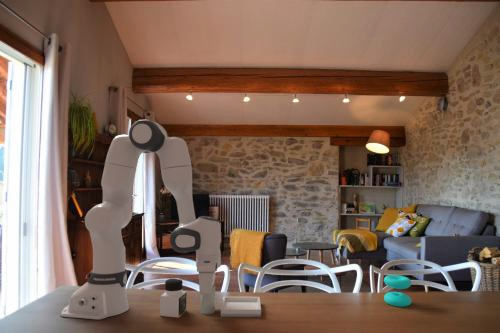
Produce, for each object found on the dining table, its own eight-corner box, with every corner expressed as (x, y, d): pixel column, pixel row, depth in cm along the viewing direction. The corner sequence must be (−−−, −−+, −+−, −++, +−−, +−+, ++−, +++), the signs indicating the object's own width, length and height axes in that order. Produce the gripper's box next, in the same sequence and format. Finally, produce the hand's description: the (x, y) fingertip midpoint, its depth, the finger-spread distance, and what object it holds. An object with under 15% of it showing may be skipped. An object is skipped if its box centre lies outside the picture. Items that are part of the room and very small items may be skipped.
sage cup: (199, 314, 132) (200, 288, 132) (201, 309, 137) (201, 284, 138) (214, 314, 132) (214, 288, 133) (215, 309, 138) (215, 284, 138)
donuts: (387, 280, 142) (381, 273, 152) (387, 307, 142) (381, 298, 151) (415, 281, 141) (406, 274, 151) (415, 308, 141) (406, 299, 150)
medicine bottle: (178, 318, 128) (179, 282, 129) (159, 316, 130) (160, 281, 130) (186, 310, 135) (187, 277, 136) (168, 309, 137) (168, 276, 137)
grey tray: (220, 316, 130) (220, 309, 130) (223, 303, 144) (223, 296, 144) (261, 317, 130) (261, 309, 130) (259, 303, 144) (259, 296, 144)
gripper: (202, 255, 146) (202, 291, 145) (196, 268, 125) (195, 309, 125) (219, 255, 146) (218, 291, 145) (215, 268, 125) (214, 309, 125)
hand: (207, 299), depth 135 cm, fingers open, 8 cm apart
